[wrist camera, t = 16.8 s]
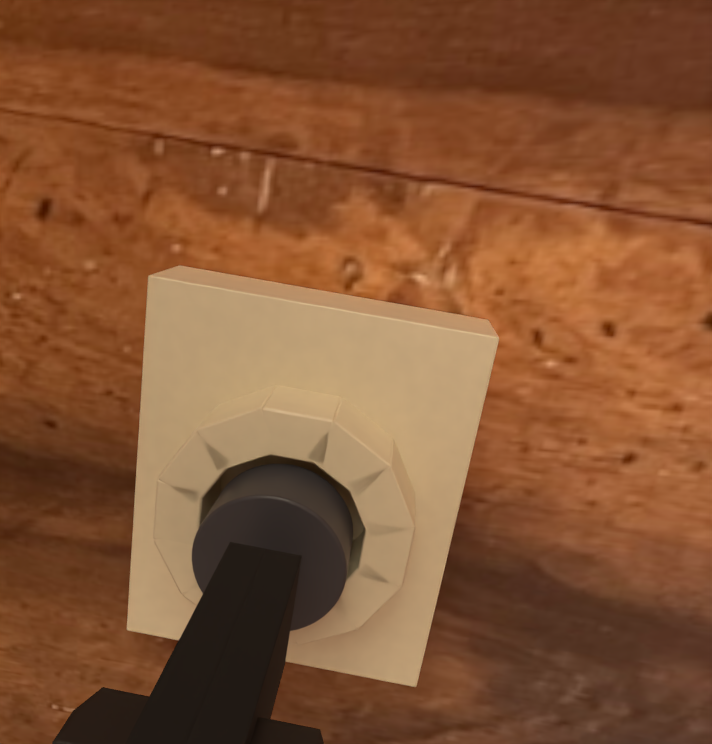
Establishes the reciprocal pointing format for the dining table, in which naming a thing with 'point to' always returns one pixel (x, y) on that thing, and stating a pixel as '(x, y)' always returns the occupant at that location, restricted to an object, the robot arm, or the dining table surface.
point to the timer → (308, 446)
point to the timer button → (282, 532)
